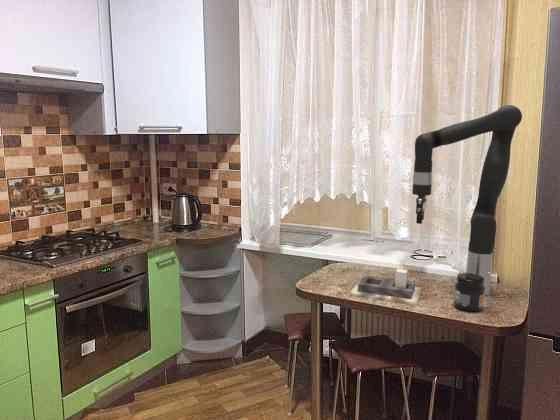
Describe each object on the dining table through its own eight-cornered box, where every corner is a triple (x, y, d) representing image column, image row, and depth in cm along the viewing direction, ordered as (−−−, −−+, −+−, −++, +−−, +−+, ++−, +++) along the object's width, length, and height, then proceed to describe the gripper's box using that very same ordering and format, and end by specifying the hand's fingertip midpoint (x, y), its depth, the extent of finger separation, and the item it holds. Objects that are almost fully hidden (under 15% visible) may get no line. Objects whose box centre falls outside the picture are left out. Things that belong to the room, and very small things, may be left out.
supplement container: (487, 307, 182) (490, 276, 180) (477, 315, 174) (480, 283, 172) (459, 300, 189) (462, 270, 186) (448, 307, 181) (451, 276, 179)
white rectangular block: (406, 291, 194) (407, 270, 193) (404, 294, 191) (406, 272, 189) (396, 290, 196) (397, 268, 194) (394, 293, 192) (395, 271, 190)
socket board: (421, 290, 199) (422, 280, 198) (417, 305, 182) (417, 295, 182) (359, 281, 208) (360, 272, 208) (349, 295, 192) (350, 285, 191)
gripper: (430, 185, 190) (428, 225, 193) (432, 181, 203) (430, 219, 206) (410, 184, 192) (408, 224, 195) (414, 180, 205) (412, 217, 208)
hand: (420, 221), depth 201 cm, fingers open, 8 cm apart
